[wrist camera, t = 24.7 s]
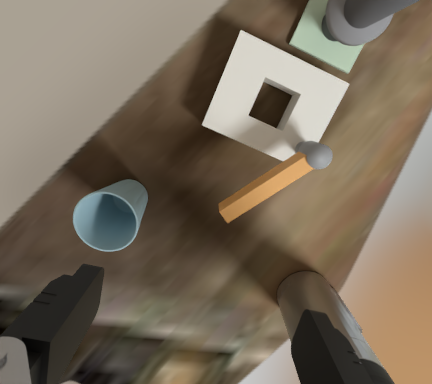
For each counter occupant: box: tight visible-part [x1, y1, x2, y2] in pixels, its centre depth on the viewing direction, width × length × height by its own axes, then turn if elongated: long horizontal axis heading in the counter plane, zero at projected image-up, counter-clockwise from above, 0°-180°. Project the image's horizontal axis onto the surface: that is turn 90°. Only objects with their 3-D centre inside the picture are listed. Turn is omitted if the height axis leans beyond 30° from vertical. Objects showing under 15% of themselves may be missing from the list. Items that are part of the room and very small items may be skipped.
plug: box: [322, 0, 419, 46], centre depth 30 cm, size 7×7×14 cm
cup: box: [73, 179, 148, 251], centre depth 38 cm, size 8×8×10 cm
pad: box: [289, 0, 364, 74], centre depth 37 cm, size 9×9×1 cm
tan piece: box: [219, 141, 332, 223], centre depth 34 cm, size 14×3×4 cm, turn 124°
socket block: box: [202, 30, 349, 161], centre depth 37 cm, size 15×12×6 cm
